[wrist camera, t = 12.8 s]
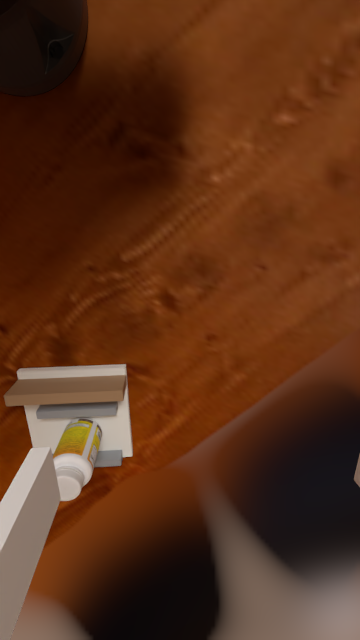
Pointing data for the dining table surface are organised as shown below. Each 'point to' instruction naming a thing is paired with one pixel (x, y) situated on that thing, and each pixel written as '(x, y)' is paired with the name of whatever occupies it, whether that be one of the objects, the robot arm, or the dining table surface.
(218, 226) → the dining table surface
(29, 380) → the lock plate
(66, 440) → the supplement bottle
